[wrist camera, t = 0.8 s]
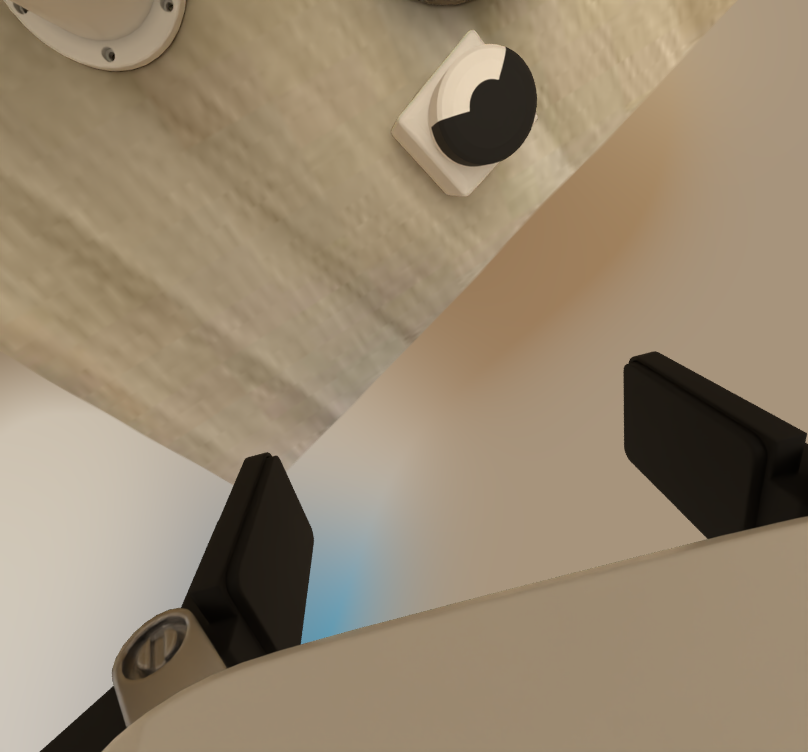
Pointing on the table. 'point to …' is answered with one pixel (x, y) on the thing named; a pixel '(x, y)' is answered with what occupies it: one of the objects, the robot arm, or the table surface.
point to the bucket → (444, 2)
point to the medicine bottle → (469, 114)
